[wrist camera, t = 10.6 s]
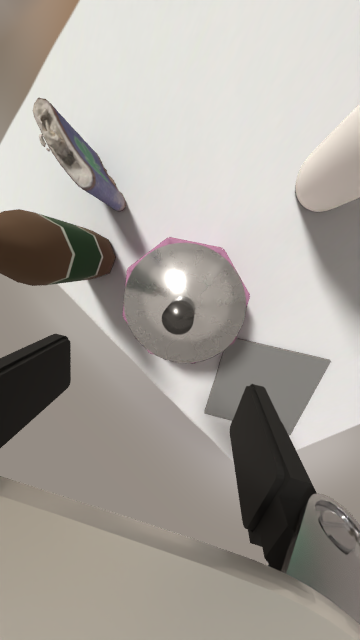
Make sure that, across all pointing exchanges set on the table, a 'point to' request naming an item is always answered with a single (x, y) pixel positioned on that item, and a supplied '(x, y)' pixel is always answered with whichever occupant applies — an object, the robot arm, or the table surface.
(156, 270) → the lid
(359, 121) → the milk bottle
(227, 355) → the mat
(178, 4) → the table surface
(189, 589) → the robot arm
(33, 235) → the beer bottle
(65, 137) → the flask
